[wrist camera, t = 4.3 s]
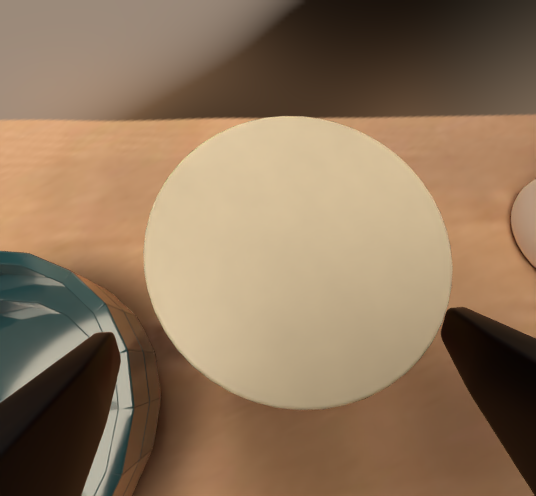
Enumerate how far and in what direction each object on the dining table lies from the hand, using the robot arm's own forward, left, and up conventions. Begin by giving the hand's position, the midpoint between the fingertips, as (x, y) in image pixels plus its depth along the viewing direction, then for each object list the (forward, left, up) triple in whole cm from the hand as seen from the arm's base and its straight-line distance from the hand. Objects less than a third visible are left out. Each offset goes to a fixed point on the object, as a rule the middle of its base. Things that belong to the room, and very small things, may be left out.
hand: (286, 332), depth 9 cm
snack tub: (+1, +1, -9) cm, 9 cm away
